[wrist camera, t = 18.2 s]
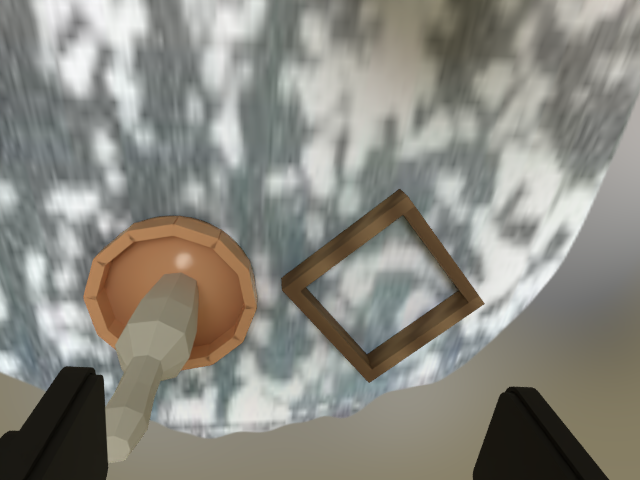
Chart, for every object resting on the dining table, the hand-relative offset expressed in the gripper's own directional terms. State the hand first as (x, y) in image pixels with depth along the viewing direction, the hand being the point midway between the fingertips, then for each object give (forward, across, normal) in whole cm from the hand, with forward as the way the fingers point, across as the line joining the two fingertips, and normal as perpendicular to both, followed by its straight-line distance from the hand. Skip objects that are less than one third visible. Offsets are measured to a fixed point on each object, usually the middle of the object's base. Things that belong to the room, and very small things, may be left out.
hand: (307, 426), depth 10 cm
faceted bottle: (+37, +10, +17) cm, 42 cm away
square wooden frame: (+38, -14, +15) cm, 43 cm away
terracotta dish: (+38, +10, +17) cm, 43 cm away
